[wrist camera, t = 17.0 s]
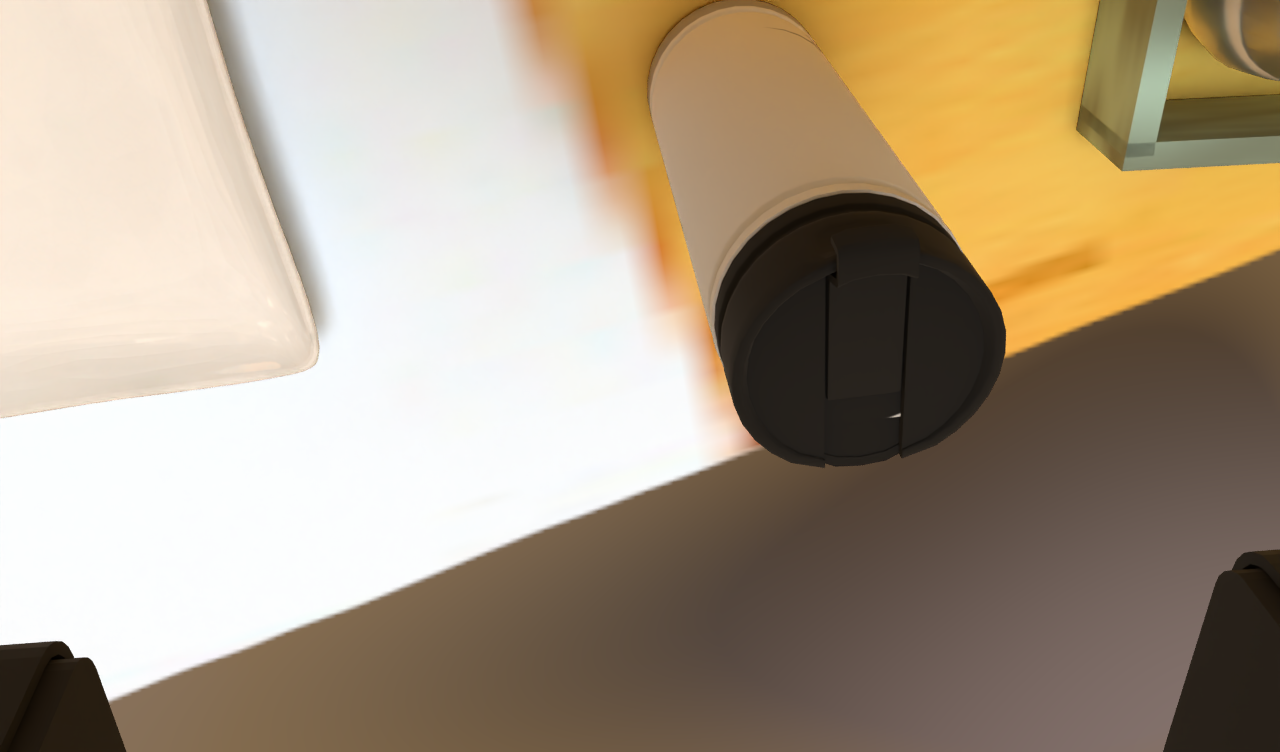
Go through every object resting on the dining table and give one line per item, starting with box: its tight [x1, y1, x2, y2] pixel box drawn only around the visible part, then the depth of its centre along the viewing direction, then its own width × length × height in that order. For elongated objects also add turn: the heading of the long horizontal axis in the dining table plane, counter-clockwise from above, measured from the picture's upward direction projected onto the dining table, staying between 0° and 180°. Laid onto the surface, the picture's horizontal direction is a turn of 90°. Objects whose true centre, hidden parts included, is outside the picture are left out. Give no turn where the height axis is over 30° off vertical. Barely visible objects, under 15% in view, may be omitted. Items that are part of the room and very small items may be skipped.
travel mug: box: [647, 0, 1006, 468], centre depth 34 cm, size 6×7×20 cm
